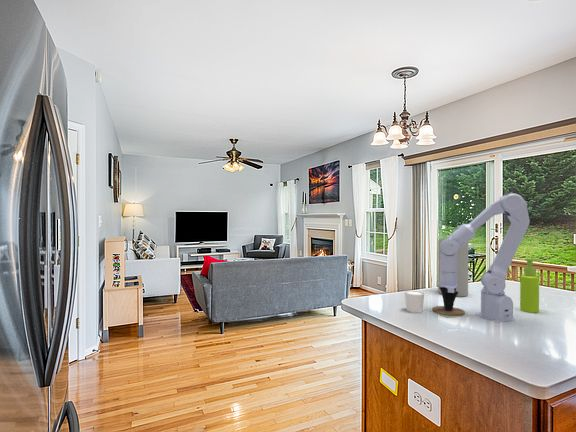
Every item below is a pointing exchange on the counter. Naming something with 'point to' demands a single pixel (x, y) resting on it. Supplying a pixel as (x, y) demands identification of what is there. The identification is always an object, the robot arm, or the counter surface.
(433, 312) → the sage mat
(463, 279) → the cylinder vase
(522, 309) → the soap dispenser
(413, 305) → the white cup
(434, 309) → the walnut lid
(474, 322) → the counter surface
